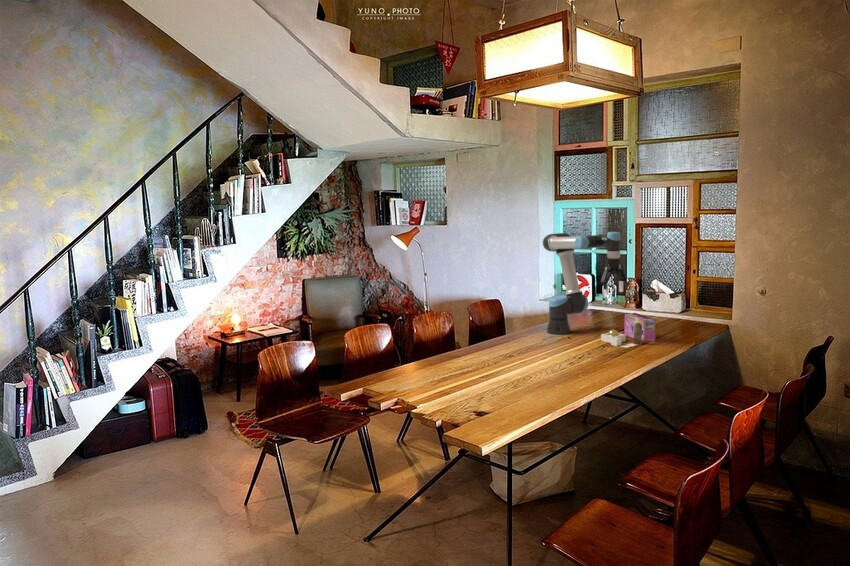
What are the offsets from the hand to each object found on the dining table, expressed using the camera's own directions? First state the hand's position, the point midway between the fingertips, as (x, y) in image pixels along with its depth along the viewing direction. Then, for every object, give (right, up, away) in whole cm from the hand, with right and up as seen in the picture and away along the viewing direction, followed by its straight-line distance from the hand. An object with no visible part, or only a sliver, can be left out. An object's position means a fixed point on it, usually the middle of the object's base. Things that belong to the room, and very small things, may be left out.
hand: (613, 293), depth 391 cm
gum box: (+18, -28, +6) cm, 33 cm away
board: (+1, -30, -9) cm, 32 cm away
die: (-2, -30, -14) cm, 33 cm away
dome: (-1, -28, -4) cm, 28 cm away
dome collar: (-1, -28, -4) cm, 29 cm away
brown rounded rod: (+10, -29, -13) cm, 33 cm away
